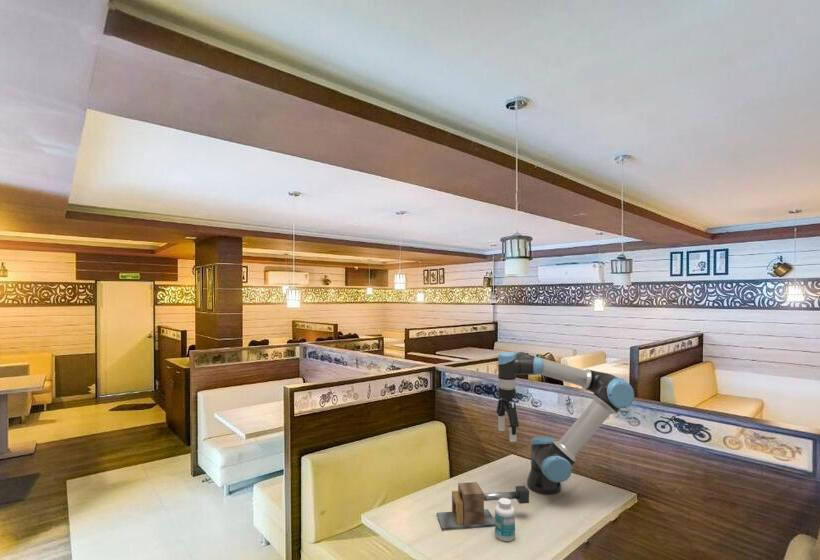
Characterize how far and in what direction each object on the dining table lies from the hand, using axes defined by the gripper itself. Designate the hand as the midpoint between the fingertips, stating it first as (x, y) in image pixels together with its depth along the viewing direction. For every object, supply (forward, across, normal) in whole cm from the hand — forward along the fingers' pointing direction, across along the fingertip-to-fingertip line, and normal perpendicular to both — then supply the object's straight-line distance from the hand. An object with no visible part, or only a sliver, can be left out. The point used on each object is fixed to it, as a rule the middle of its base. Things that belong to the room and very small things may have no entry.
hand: (507, 436), depth 185 cm
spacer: (+28, +12, -26) cm, 40 cm away
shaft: (+22, +13, -8) cm, 27 cm away
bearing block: (+29, +12, -22) cm, 38 cm away
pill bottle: (+29, +25, -11) cm, 40 cm away
